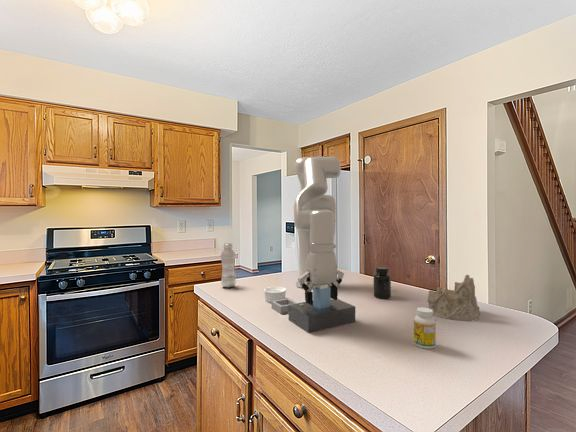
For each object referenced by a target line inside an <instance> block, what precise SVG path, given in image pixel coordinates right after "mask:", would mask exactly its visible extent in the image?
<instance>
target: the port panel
mask: <svg viewBox="0 0 576 432" xmlns="http://www.w3.org/2000/svg"><path fill="white" fill-rule="evenodd" d="M288 321H289V322H291V323H293V324H294V325H295V326H297V327H298V328H300V329H302V330H303V331H304V332H306V333H313V332H317V331H323V330H326V329H331V328H335V327H339V326H343V325H347V324H353V323H355V322H356V306H355V305H352V304H350V303H348V302H346V301H344V300H340V299H338V298H337V300H334V299H332V298H330V308H325V309H318V308H316V307H314V306H313V304H311V305H310V304H308V303H306V301H303V302H296V304H291V305H289V312H288Z"/></svg>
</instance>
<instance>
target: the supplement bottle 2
mask: <svg viewBox="0 0 576 432" xmlns="http://www.w3.org/2000/svg"><path fill="white" fill-rule="evenodd" d="M416 314H417V315H415V316H414V318H413V344H414V345H415V346H416V347H418V348H420V349H425V350H432V349H434V348H435V347H436V343H437V342H436V341H437V340H436V338H437V337H436V335H437V334H436V333H437V331H436V330H437V328H436V327H437V326H436V325H437V323H436V319H435V318H434V317H433V316H434V315H433V310H432V309H429V307H417V308H416Z"/></svg>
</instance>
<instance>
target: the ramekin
mask: <svg viewBox="0 0 576 432" xmlns="http://www.w3.org/2000/svg"><path fill="white" fill-rule="evenodd" d="M263 292H264V299H265V301H266V302H268V303H270V304H272V301H276V300H282V299H286V292H287V288H286V287H283V286H268V287H265V288H264V289H263Z"/></svg>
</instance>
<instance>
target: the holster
mask: <svg viewBox="0 0 576 432" xmlns="http://www.w3.org/2000/svg"><path fill="white" fill-rule="evenodd" d="M296 303H297V301H294V300H292V298H291V299H290V298H285V299H282V300H276V301H272V303H271V309H272V310H274V311H276V312H277V313H279V314H281V315H282V314H286V313H288V314H289V305H291V304H296Z"/></svg>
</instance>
